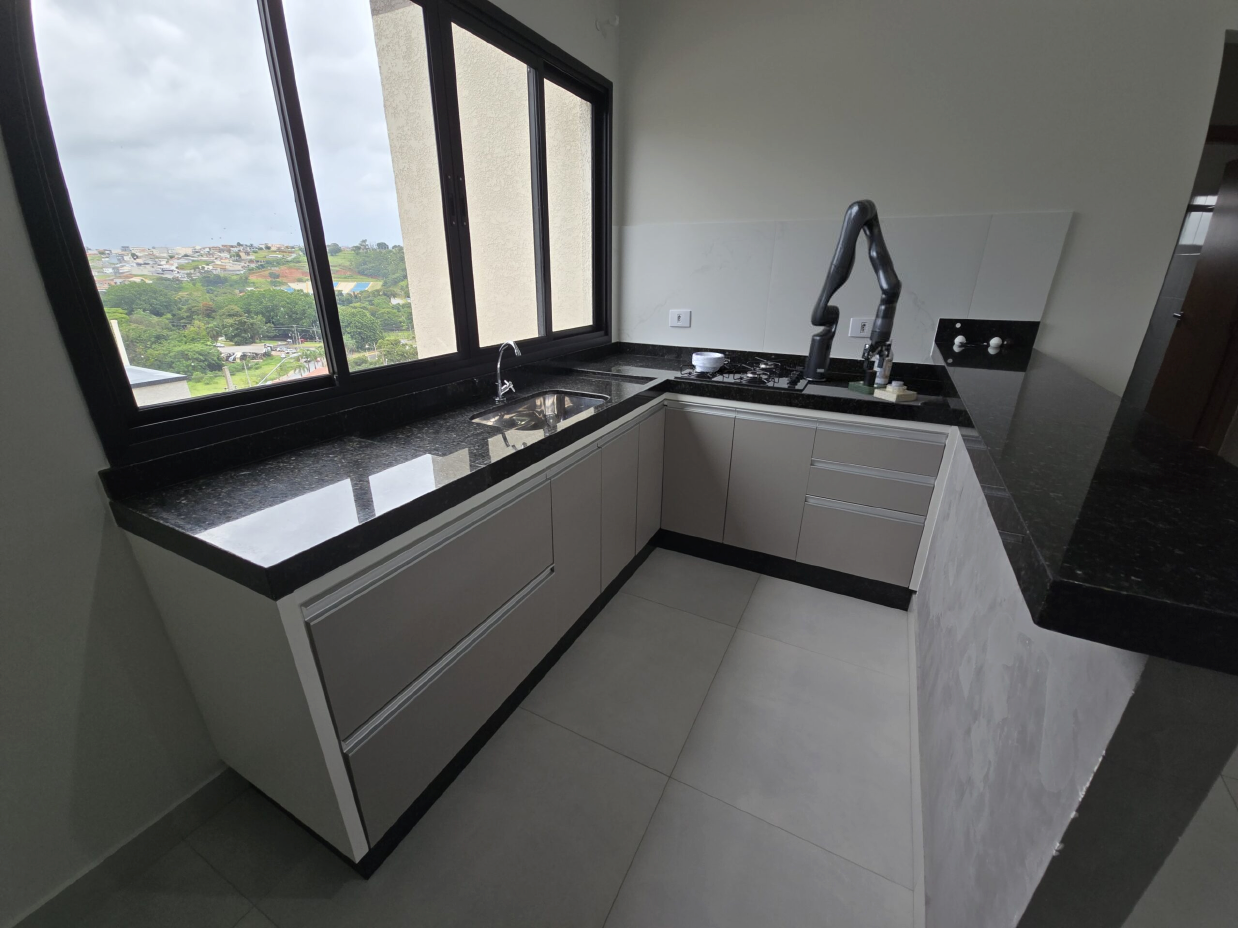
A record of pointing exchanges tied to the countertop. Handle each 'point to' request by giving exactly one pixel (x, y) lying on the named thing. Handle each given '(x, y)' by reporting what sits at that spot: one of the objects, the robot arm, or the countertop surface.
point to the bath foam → (884, 368)
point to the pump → (897, 384)
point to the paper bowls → (708, 361)
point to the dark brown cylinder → (870, 377)
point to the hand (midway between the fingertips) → (872, 368)
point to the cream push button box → (895, 393)
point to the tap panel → (865, 387)
